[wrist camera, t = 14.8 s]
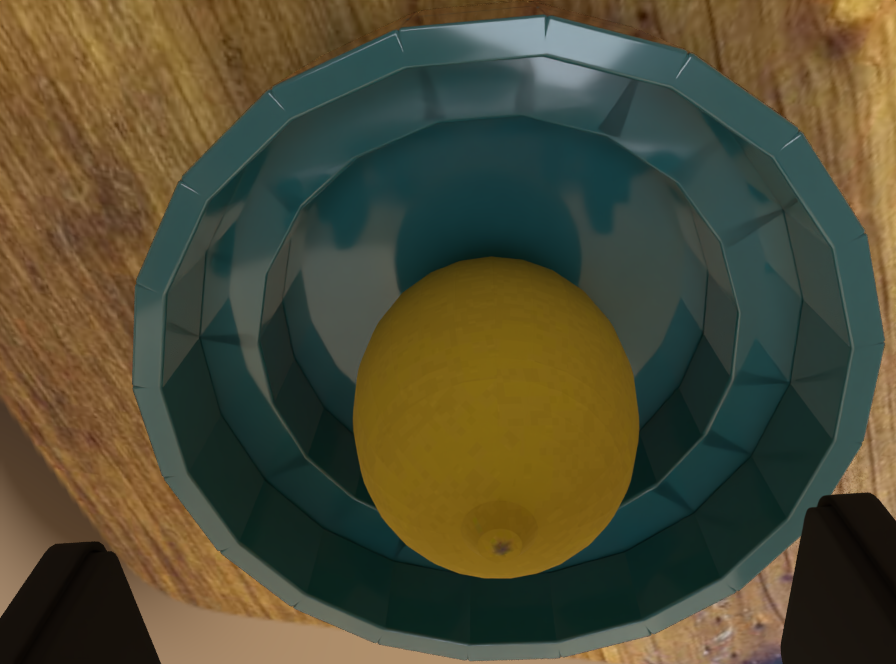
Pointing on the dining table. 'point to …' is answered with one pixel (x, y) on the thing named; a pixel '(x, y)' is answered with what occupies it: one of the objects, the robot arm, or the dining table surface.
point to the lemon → (496, 418)
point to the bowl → (517, 237)
